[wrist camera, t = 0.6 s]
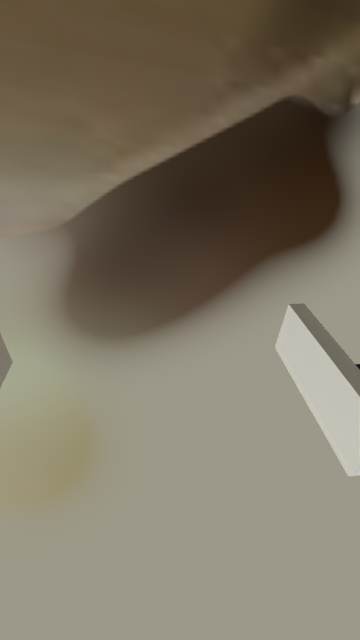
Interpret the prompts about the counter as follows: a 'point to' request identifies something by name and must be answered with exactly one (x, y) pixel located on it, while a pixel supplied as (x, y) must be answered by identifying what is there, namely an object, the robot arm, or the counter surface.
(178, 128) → the counter surface
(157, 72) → the counter surface
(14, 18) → the counter surface
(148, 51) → the counter surface
